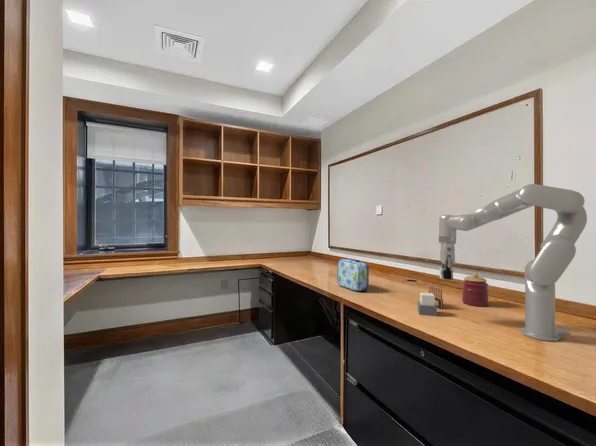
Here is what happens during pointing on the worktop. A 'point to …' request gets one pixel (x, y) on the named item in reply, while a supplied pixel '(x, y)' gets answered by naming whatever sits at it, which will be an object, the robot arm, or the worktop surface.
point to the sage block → (443, 274)
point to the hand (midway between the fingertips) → (446, 277)
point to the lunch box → (353, 274)
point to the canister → (475, 291)
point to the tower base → (427, 310)
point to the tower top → (427, 299)
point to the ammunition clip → (436, 295)
